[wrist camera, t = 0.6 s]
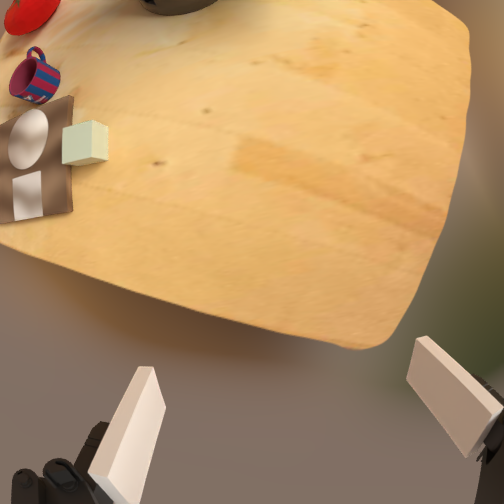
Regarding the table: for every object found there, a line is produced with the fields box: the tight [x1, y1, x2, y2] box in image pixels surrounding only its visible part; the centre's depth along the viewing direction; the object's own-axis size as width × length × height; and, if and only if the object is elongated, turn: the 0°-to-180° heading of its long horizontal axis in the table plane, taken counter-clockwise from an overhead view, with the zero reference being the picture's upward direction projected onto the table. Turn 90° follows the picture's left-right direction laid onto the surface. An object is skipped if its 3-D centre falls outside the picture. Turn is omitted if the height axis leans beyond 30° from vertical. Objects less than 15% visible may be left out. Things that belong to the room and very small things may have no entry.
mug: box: [9, 46, 60, 104], centre depth 27 cm, size 7×10×7 cm
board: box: [0, 95, 74, 224], centre depth 32 cm, size 18×18×2 cm
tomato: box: [4, 0, 61, 36], centre depth 21 cm, size 11×13×10 cm
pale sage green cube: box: [62, 120, 108, 166], centre depth 31 cm, size 5×5×5 cm
